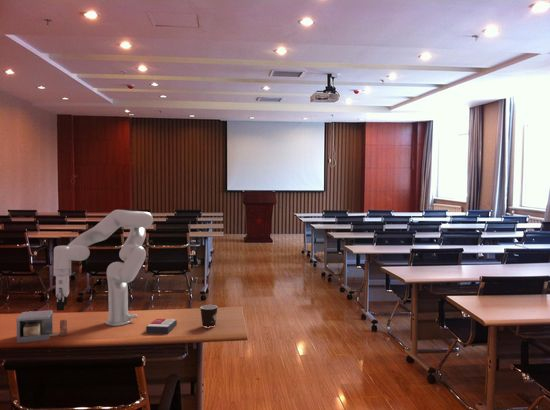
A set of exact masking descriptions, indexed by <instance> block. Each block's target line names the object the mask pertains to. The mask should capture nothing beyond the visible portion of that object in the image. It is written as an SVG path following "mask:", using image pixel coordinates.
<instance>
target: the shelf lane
mask: <svg viewBox="0 0 550 410" xmlns="http://www.w3.org/2000/svg"><path fill="white" fill-rule="evenodd" d="M53 311H54V310H52V309H49V310H37V311H32V310H31V311H23V312H21V313H20V314H19V315H18V317H16V318H15V319H16V343H17V344H19V343H31V342H42V341H49V340H50V336H49V335H50V334H54V333H53V332H54V329H53V328H54V323H53V321H54V319H53V318H54V317H53V316H54V315H53V314H54V313H53ZM32 323H40V335H31V336H24V331H23V328H24V326H25V325H26V324H32Z"/></svg>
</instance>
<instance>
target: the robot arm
mask: <svg viewBox="0 0 550 410" xmlns="http://www.w3.org/2000/svg"><path fill="white" fill-rule="evenodd" d="M153 222H154V217H153V215H152V214H151V213H150V212H148V211H142V210H140V211H139V210H126V209H114V210H113V211H111V212H110V213H109V214H108V215H106V216H105V217H104V218H103V219H101V220H100V221H99V222H98V223H97V224H96V225H95V226H93V227H92V228H89V229H88V230H86V231H84V232H82V233H81V234H79V235H78V236H77V237H75V238H74V239H73V240H71V241H70V243H68V244H67V245H57V246H55V247H54V248H53V276H54V277H55V297H56V311H57V312H61V311H64V310H65V306H67V304H68V296H69V294H70V276H71V275H72V261H78V262H79V261H80V262H81V261H86V260H87V259H88V258H89V256H90V253H91V252H90V249H89V248H88V247H90V246H92V245H93V244H96V243H99V242H103V241H106V240H107V239H108V238H110V236H112V234H114V233H115V232H116V231H117V230H118V229H119V228H121V227H124V228H129V234H128V236H127V238H126V240H125V241H124V243H123V245H122V247H121V249H120V250H119V253H118V255H119V256H118V257H119V258H120V259H121V260H122V261H123V262H122V261H115V262H114V261H113V262H112V263H110V264H109V265H108V266H107V268H106V279H107V286H108V287H107V288H108V319H106V320H105V325H106V326H112V327H113V326H114V327H118V326H124V325H128V324H130V323H131V322H132V319H137V318H138V314H135V313H129V291H128V290H129V288H128V283H132V281H134V280H135V278H136V277H137V275H138V274H139V272H140V269H141V268H142V266H143V265H144V262H145V261H146V257H147V251H146V249H145V248H144V247H143V244H144V242H145V239H146V236H147V232H146V228H149V227H151V226H152V224H153Z"/></svg>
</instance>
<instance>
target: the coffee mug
mask: <svg viewBox="0 0 550 410" xmlns="http://www.w3.org/2000/svg"><path fill="white" fill-rule="evenodd" d="M199 309H200V315H201V325H203V326H207V327H209V326H214V325H215V326H216V325H217V324H216V322H217V317H218V315H217V313H218V306H217V305H215V304H205V305H202V306H200V308H199ZM203 326H202V327H203Z"/></svg>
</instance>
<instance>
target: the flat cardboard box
mask: <svg viewBox="0 0 550 410" xmlns="http://www.w3.org/2000/svg"><path fill="white" fill-rule="evenodd" d="M176 325H178V321H177V319H176V318H156V319H154V320H152V321H151V322H150V323H149V324H147V326H146V327H145V334H146V335H169V334H170V333H171V332H172V331H173V330H174V329H175V328H176V327H177V326H176ZM175 326H176V327H175ZM174 327H175V328H174ZM173 328H174V329H173ZM170 331H171V332H170ZM169 332H170V333H169Z"/></svg>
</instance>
